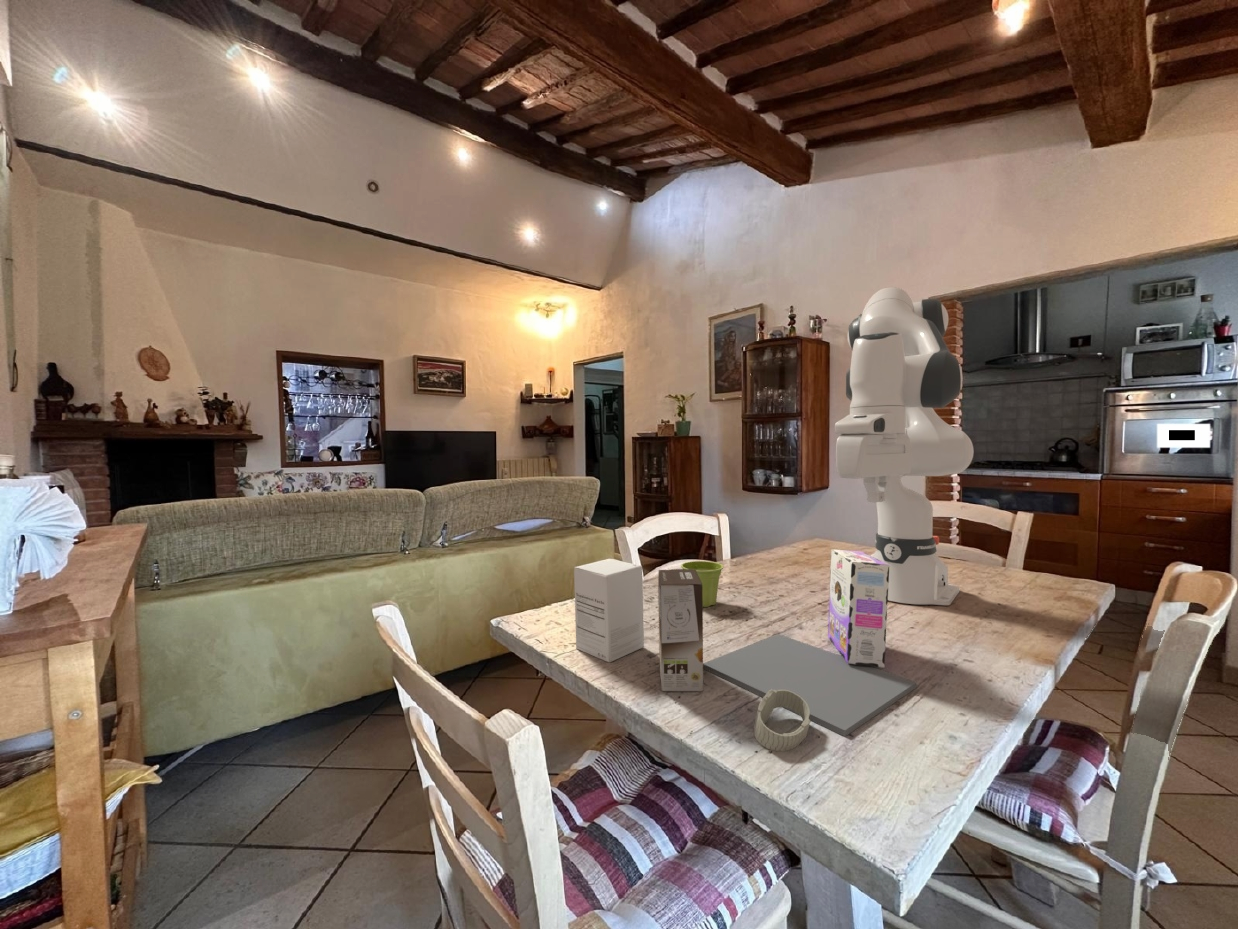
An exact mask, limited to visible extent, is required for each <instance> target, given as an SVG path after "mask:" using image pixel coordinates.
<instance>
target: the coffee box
mask: <svg viewBox="0 0 1238 929" xmlns="http://www.w3.org/2000/svg"><path fill="white" fill-rule="evenodd" d="M657 572H658V574H657V575H658V576H657V577H658V578H657V579H658V580H657V581H658V582H657V584H658V593H657V594H658V596H657V597H658V600H657V602H658V650H659V653H658V656H659V657H658V658H659V660H658V661H659V674H660V689H661V691H662V692H702V691H703V690H704V669H703V663H704V637H703V636H704V619H703V618H704V617H703V616H704V613H703V612H704V611H703V610H704V609H703V608H704V607H703V593H702V591H703V587H702V586H703V584H702V582H701V580H700V578H699V576H698V574H697V571H696V570H695V569H683V568H677V569H675V568H673V569H671V568H670V569H659V570H658V571H657Z"/></svg>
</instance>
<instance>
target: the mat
mask: <svg viewBox="0 0 1238 929" xmlns="http://www.w3.org/2000/svg"><path fill="white" fill-rule="evenodd" d="M703 670H706V671H707V672H709V673H711V674H713V675H716V676H717V677H720V678H722V679H723V680H726V681H728V682H730V683H733V684H734V685H736V686H739V687H740V688H743V689H744V690H747V691H749V692H751V693H753V694H755V695H756V696H759V697H761V698H763V697H764V696H765V695H766V694H767V693H768V691H769V690H771V689H772V690H776V691H777V690H789V691H791V692H794V693H796V694H797V695H799V696H800V697H802V698H803V699H804V701H805V702H806V703H807V704H808V707H809V711H810V715H809V720H810V722H813V723H815V724H818V725H819V726H821V727H824V728H826V729H828V730H830V731H832V732H834V733H837V734H838V735H841V736H843V737H844V738H845V737H847V736H848V735H849V734H851V733H853V732H854V731H855V730H857V729H858V728H860V727H861V726H862V725H864V724H865V723H867V722H869V721H870V720H872V718H874V717H876V716H877V715H879V714H880V713H881V712H883V711H885V710H886V709H887V708H889V707H890V706H892V705H894V704H895V703H896V702H898V701H900V700H901V699H902V698H904V697H905V696H906V695H908V694H909V693H911V692H912V691H913V690H915V689H917V687H918V686H917V685H918V684H917V683H918V682H917V681H914V680H911V679H909V678H907V677H903V676H900V675H897V674H894V673H892V672H889V671H886V670H882V669H881V668H878V667H873V666H865V665H857V664H849V663H847V662H846V660H845V659H844V658H843V656H842V655H841V654H836V653H834V652H831V651H828V650H826V649H823V648H819V647H817V646H814V645H811V644H808V643H806V642H803V641H800V640H797V639H793V638H791V637H788V636H785V635H784V634H783V635H782V634H780V633H777V634H773V635H772V636H769V637H767V638H764V639H761V640H759V641H757V642H754V643H751V644H749V645H747V646H743V647H741V648H738V649H735V650H734V651H731V652H729V653H726V654H723V655H721V656H718V657H716V658H713V659H711V660H709V661H708V660H707V661H706V662H703ZM783 708H784V709H787V710H788V711H790V712H792V713H794V714H796V715H799V714H798V713H797V712H795V711H794V710H791V709H789V708H785V707H783Z"/></svg>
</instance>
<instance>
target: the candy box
mask: <svg viewBox="0 0 1238 929" xmlns="http://www.w3.org/2000/svg"><path fill="white" fill-rule="evenodd" d="M829 568H830V569H829V570H830V571H829V572H830V574H829V600H828V601H829V602H828V603H829V604H828V606H829V607H828V628H827V629H828V630H827V637H828V639H829V640H830V642H831V644H833V646H834V647H835V648H836V649H837V651H838V652H839V655H840V656H843V658H844V659H845V660H846V662H847V663H849V664H857V665H865V666H872V667H875V668H880V669H881V668H885V667H886V664H885V663H886V641H887V640H886V638H887V621H888V620H887V618H888V604H889V600H888V585H889V565H888V564H886V563H884V562H882V561H880V560H878V559H876V558H874V557H872V556H871V555H870V554H868V553H866V552H864V551H862V550H861V551H860V550H846V549H834V548H833V549H831V550H830V567H829Z"/></svg>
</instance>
